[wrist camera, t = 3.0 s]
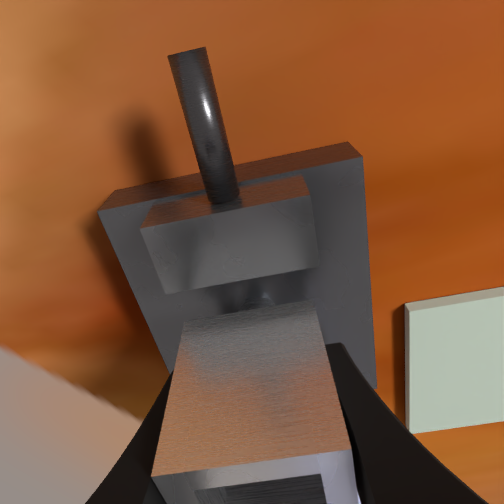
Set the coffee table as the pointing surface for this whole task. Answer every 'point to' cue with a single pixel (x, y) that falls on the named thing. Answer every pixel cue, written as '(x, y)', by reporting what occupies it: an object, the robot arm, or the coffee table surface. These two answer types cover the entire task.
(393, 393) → the coffee table surface
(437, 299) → the set down mat
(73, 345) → the coffee table surface
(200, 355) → the hollow square tube
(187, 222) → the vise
